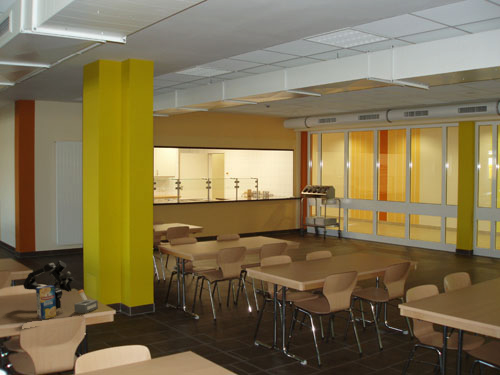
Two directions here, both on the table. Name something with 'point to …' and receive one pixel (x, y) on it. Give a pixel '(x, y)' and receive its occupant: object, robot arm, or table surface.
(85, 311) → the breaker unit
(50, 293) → the blue cracker box
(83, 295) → the breaker lever
